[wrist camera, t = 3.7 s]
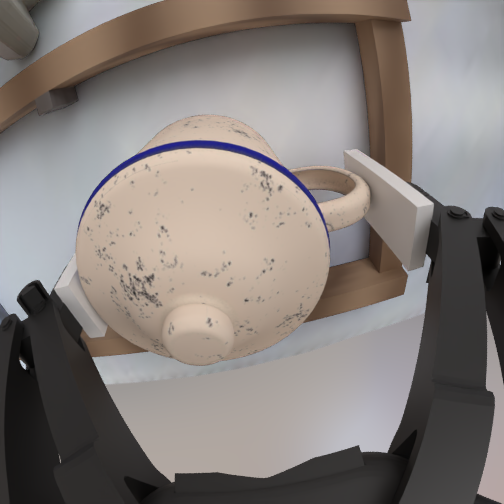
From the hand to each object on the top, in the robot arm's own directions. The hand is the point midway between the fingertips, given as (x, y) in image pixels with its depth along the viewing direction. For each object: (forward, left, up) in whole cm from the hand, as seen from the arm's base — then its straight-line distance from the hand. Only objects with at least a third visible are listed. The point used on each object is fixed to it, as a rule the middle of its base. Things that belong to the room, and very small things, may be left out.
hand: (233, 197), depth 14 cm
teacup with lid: (0, 0, -3) cm, 3 cm away
